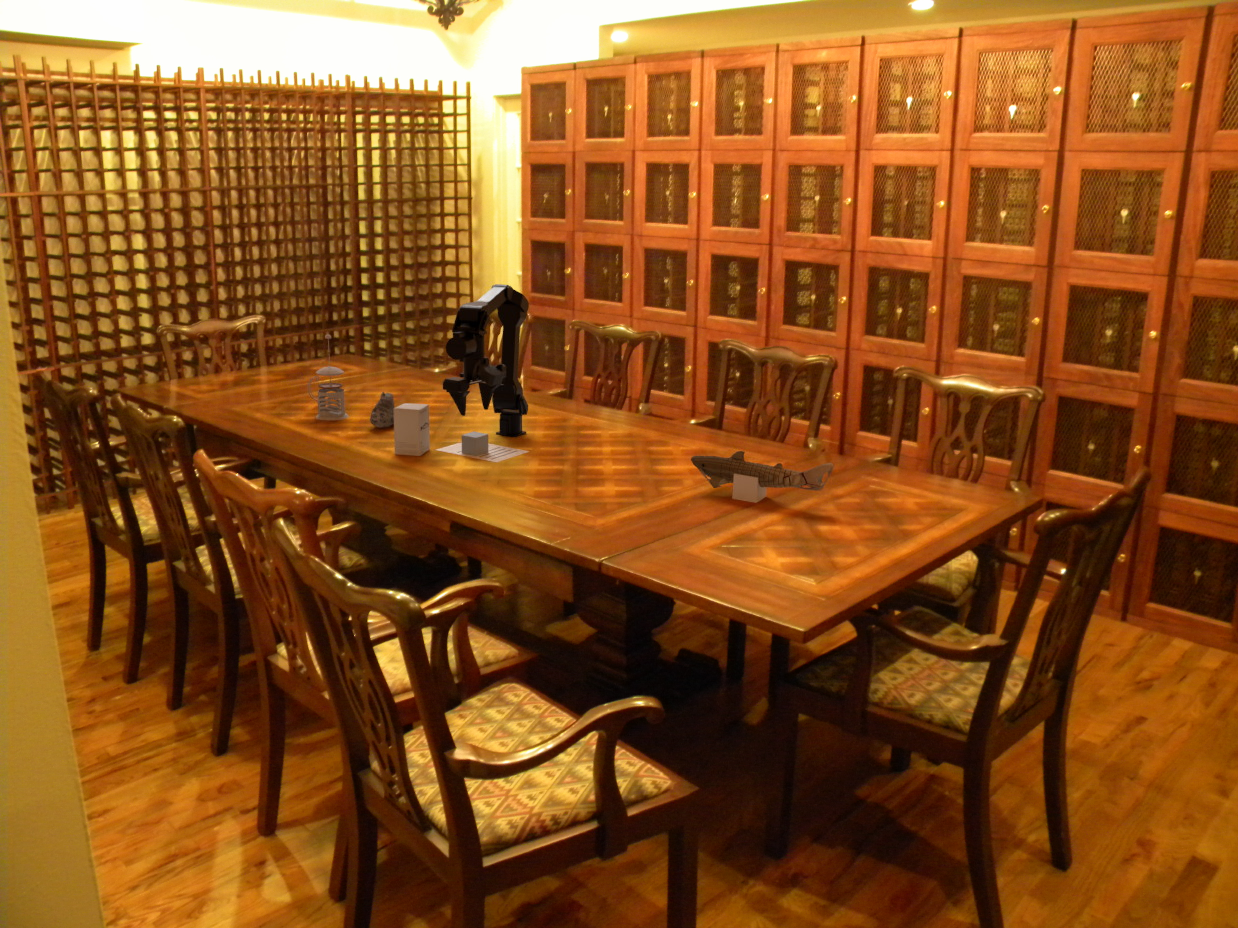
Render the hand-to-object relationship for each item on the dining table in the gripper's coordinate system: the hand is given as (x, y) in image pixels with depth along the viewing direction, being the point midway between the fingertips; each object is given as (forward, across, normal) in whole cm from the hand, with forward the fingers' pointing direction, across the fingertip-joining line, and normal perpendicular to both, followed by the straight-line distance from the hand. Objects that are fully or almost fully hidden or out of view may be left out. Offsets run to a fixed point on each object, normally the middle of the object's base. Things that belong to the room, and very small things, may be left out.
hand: (474, 412), depth 281 cm
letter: (+11, +3, 0) cm, 12 cm away
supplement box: (+11, -9, +14) cm, 20 cm away
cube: (+11, 0, 0) cm, 11 cm away
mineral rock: (+12, +8, +42) cm, 44 cm away
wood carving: (+11, +8, -79) cm, 80 cm away
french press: (+12, +7, +63) cm, 64 cm away
